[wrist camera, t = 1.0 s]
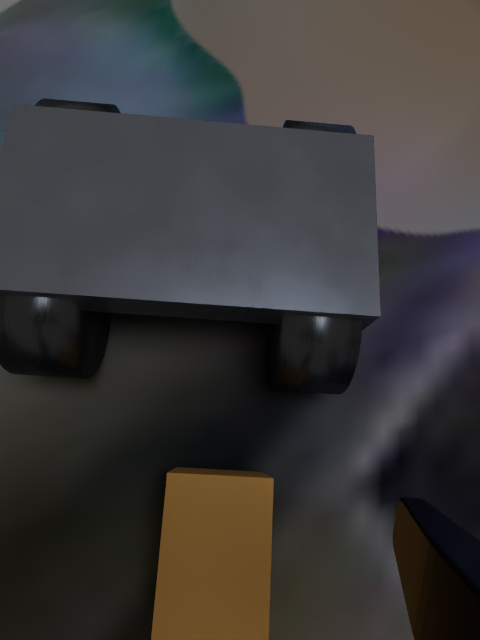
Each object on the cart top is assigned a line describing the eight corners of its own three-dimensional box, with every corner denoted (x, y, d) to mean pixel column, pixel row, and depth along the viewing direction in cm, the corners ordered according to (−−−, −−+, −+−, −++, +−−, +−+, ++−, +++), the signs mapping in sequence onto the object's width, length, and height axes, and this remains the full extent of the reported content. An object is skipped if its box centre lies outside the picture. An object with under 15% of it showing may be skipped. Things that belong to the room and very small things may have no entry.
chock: (255, 616, 19) (267, 666, 15) (163, 612, 19) (148, 662, 14) (261, 471, 21) (273, 478, 16) (176, 466, 20) (167, 472, 16)
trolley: (334, 401, 22) (383, 383, 15) (28, 382, 21) (-50, 356, 15) (332, 176, 25) (371, 87, 19) (72, 154, 25) (24, 55, 18)
